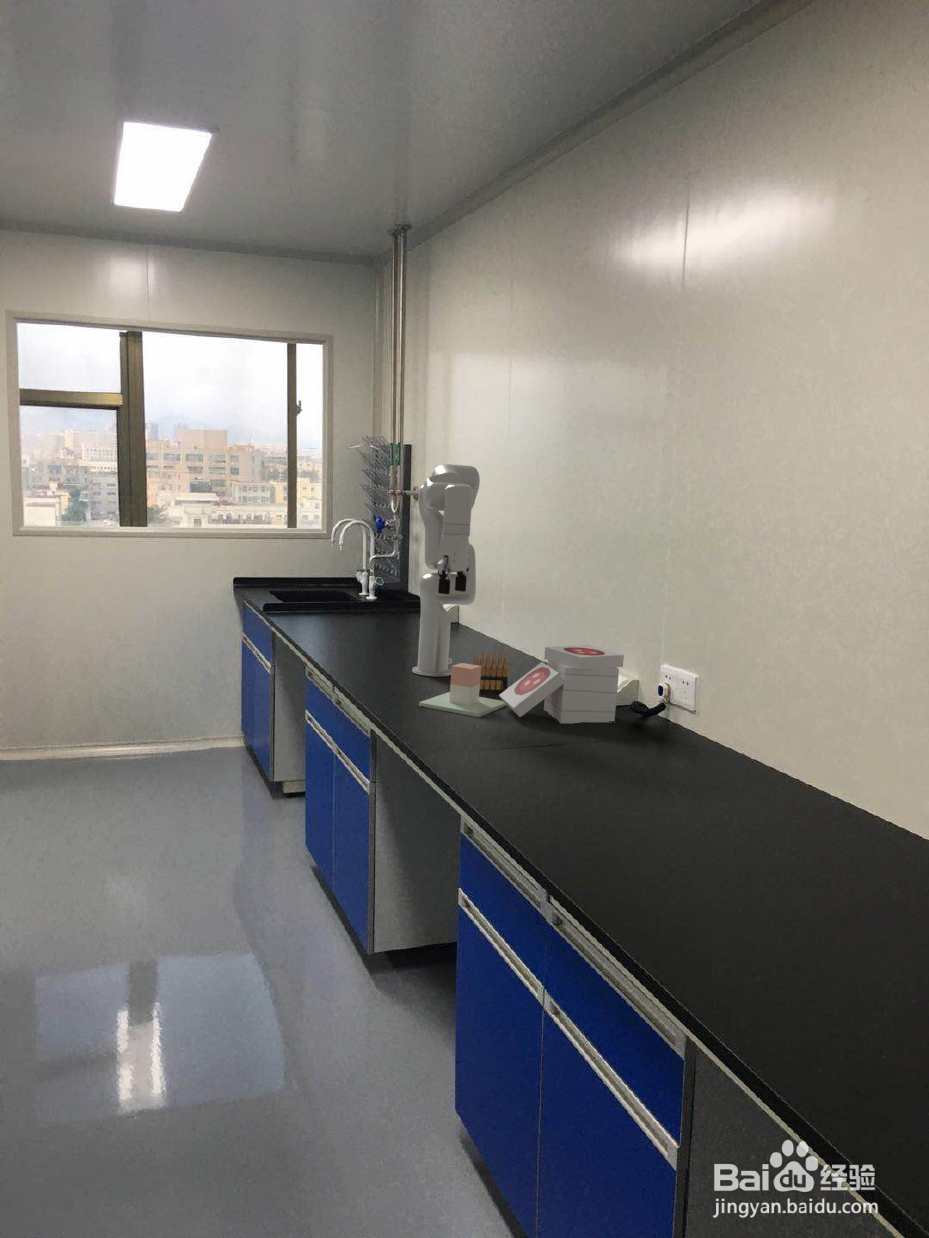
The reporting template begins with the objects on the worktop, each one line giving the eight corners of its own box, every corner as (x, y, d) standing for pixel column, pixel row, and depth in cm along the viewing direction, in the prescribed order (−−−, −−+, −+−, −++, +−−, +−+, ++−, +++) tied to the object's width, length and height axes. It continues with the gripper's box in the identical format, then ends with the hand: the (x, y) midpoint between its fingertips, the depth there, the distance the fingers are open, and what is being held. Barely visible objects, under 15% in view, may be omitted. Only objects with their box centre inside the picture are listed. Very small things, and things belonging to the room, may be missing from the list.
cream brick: (458, 698, 273) (460, 680, 272) (478, 701, 270) (479, 683, 269) (449, 702, 267) (450, 684, 267) (469, 705, 265) (470, 687, 264)
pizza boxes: (496, 707, 270) (501, 642, 267) (599, 708, 276) (605, 645, 274) (514, 725, 251) (520, 655, 249) (625, 726, 258) (631, 658, 255)
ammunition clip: (505, 692, 289) (508, 652, 288) (507, 693, 288) (510, 653, 286) (470, 691, 287) (473, 651, 286) (471, 693, 285) (474, 652, 284)
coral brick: (460, 680, 272) (461, 662, 271) (480, 683, 269) (481, 666, 269) (450, 684, 267) (451, 665, 266) (470, 687, 264) (471, 669, 263)
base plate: (450, 695, 281) (450, 691, 281) (507, 705, 273) (507, 701, 273) (418, 705, 265) (419, 702, 265) (478, 717, 257) (479, 713, 257)
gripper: (458, 528, 278) (454, 588, 281) (428, 529, 263) (424, 593, 266) (482, 530, 275) (478, 591, 278) (453, 532, 260) (449, 596, 262)
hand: (452, 592), depth 272 cm, fingers open, 9 cm apart
